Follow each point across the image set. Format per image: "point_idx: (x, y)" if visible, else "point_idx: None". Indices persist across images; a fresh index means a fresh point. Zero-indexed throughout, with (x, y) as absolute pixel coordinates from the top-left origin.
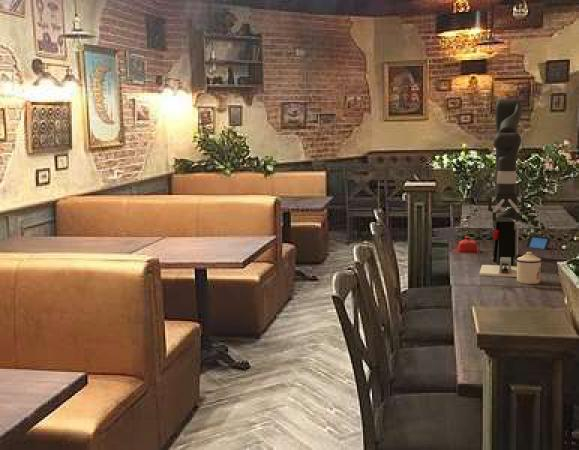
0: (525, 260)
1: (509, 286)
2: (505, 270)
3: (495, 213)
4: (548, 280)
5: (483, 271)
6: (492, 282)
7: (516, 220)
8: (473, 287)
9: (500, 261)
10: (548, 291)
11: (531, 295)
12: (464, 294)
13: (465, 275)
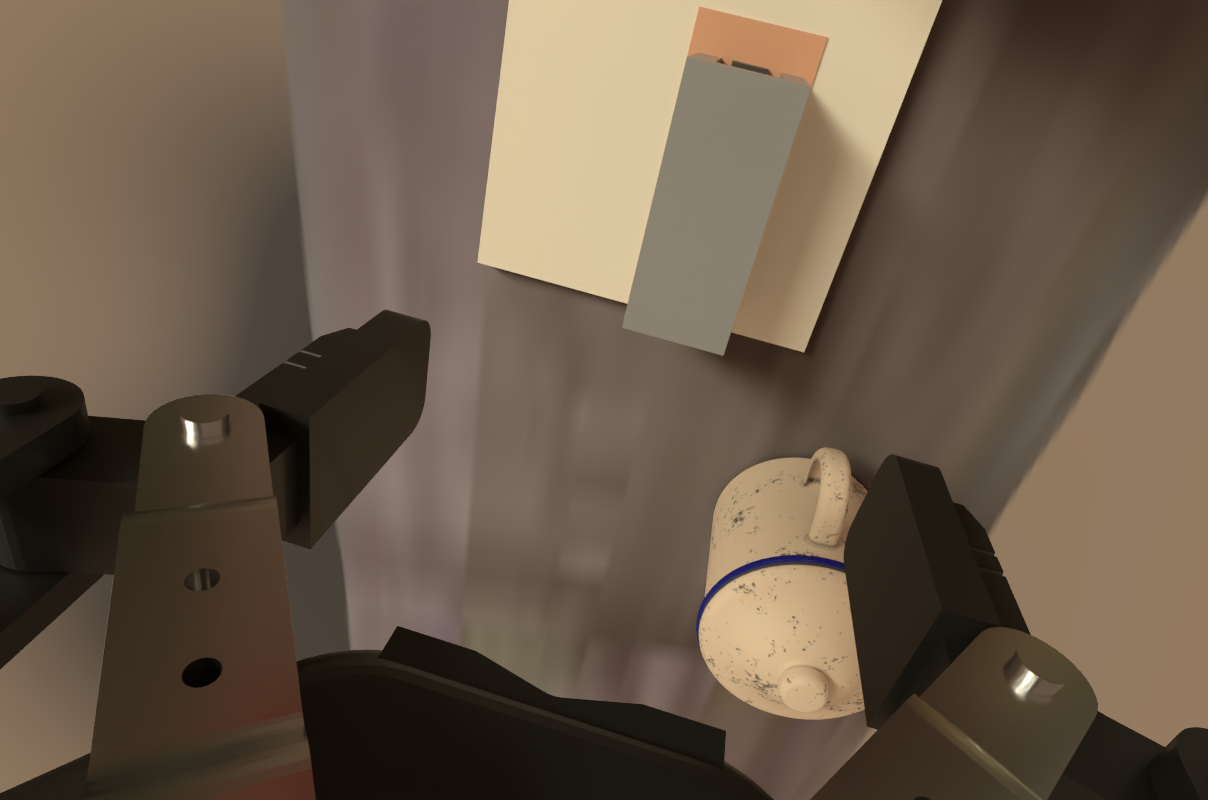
0: (743, 700)
1: (629, 618)
2: None
3: (301, 533)
4: (972, 490)
5: (517, 193)
6: (549, 508)
7: (852, 574)
8: (430, 612)
9: (629, 326)
10: (808, 745)
11: None
12: None
13: (381, 253)
